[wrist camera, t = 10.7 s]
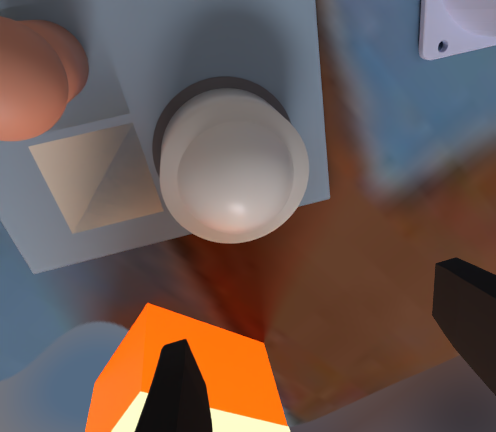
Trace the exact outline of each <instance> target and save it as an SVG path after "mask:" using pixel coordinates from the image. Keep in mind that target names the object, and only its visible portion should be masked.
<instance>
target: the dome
mask: <svg viewBox="0 0 496 432" xmlns="http://www.w3.org/2000/svg"><path fill="white" fill-rule="evenodd" d="M308 178H309V160H308V154H307V150H306V147H305V144H304V142H303V140H302V138H301V136H300V135H299V133H298V132H297V130H296V129H295V128H294V127H293V126H292V125H291V123H290V122H289V121H288V120H286V119H285V118H284V117H283V116H282V115H281V114H280V113H279V112H278V111H277V110H275V109H274V108H273V107H272V106H271V105H270V104H269V103H268V102H266V101H265V100H264V99H262V98H261V97H259V96H257V95H255V94H253V93H251V92H248V91H245V90H241V89H235V88H219V89H213V90H209V91H206V92H203V93H201V94H199V95H196V96H194V97H193V98H191V99H190V100H188V101H187V102H186V103H184V104H183V105H182V106H181V107H180V108H179V109H178V110H177V111H176V112H175V113H174V115H173V116H172V118H171V119H170V121H169V123H168V125H167V127H166V129H165V132H164V135H163V139H162V145H161V160H160V188H161V193H162V196H163V199H164V202H165V204H166V207H167V208H168V210H169V212H170V213H171V215H172V216H173V217H174V218H175V220H176V221H177V222H178V223H179V224H180V225H181V226H182V227H184V228H185V229H186V230H188V231H189V232H191V233H192V234H194V235H196V236H198V237H200V238H203V239H205V240H209V241H213V242H218V243H242V242H247V241H251V240H255V239H258V238H260V237H262V236H265V235H267V234H269V233H270V232H272V231H274V230H275V229H277V228H278V227H279V226H281V225H282V224H283V223H284V222H285V221H286V220H288V219H289V217H290V216H291V215H292V214H293V213H294V211H295V210H296V209H297V207H298V206H299V204H300V202H301V200H302V198H303V196H304V193H305V191H306V188H307V183H308Z"/></svg>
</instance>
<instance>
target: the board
mask: <svg viewBox="0 0 496 432" xmlns="http://www.w3.org/2000/svg"><path fill="white" fill-rule="evenodd" d="M0 16H2V17H6V18H10V19H12V20H15V21H23V20H45V21H50V22H53V23H56V24H58V25H60V26H62V27H64V28H65V29H66V30H68V31H69V32H70V33H71V34H73V35H74V36H75V38H76V39H77V40H78V41H79V42H80V44H81V45H82V47H83V49H84V51H85V53H86V56H87V59H88V64H89V75H88V80H87V82H86V85H85V86H84V88H83V89H82V91H81V92H80V93H79V94H78V95H76V96H75V97H74V98H73V99H72V100H71V101H70V102H69V103H67V105H66V108H65V111H64V112H63V114H62V116H61V118H60V119H59V120H58V122H57V123H56V124H55V125H54V126H53V127H52V128H51V129H49V130H48V131H46V132H45V133H43V134H41V135H39V136H37V137H34V138H31V139H27V140H22V141H0V220H1V222H2V224H3V225H4V227H5V228H6V230H7V232H8V233H9V235H10V237H11V238H12V240H13V241H14V243H15V245H16V246H17V248H18V250H19V251H20V253H21V254H22V256H23V258H24V259H25V261H26V262H27V264H28V266H29V267H30V269H31V271H32V272H33V274H36V273H40V272H44V271H48V270H52V269H56V268H60V267H64V266H68V265H72V264H75V263H79V262H83V261H87V260H91V259H95V258H99V257H103V256H107V255H111V254H115V253H119V252H123V251H126V250H130V249H134V248H138V247H142V246H146V245H150V244H154V243H158V242H162V241H166V240H170V239H174V238H177V237H181V236H185V235H189V234H192V233H191V232H189V231H188V230H186V229H185V228H184V227H182V226H181V225H180V224H179V223H178V222H177V221H176V220H175V218H174V217H173V216H172V215H171V213H170V212H169V210H168V208H167V207H166V204H165V202H164V199H163V196H162V193H161V188H160V160H161V145H162V139H163V135H164V132H165V129H166V127H167V125H168V123H169V121H170V119H171V118H172V116H173V115H174V113H175V112H176V111H177V110H178V109H179V108H180V107H181V106H182V105H183V104H184V103H186V102H187V101H188V100H190V99H191V98H193V97H194V96H196V95H199V94H201V93H203V92H206V91H209V90H213V89H219V88H235V89H241V90H245V91H248V92H251V93H253V94H255V95H257V96H259V97H261V98H262V99H264V100H265V101H266V102H268V103H269V104H270V105H271V106H272V107H273V108H274V109H275V110H277V111H278V112H279V113H280V114H281V115H282V116H283V117H284V118H285V119H286V120H288V121H289V122H290V123H291V125H292V126H293V127H294V128H295V129H296V130H297V132H298V133H299V135H300V136H301V138H302V140H303V142H304V144H305V147H306V150H307V154H308V160H309V178H308V183H307V188H306V191H305V193H304V196H303V198H302V200H301V202H300V204H299V206H303V205H307V204H311V203H315V202H319V201H323V200H326V199H330V191H329V178H328V165H327V151H326V138H325V125H324V112H323V98H322V85H321V72H320V59H319V46H318V32H317V19H316V6H315V0H0ZM299 206H298V207H299Z"/></svg>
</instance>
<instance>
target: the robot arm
mask: <svg viewBox="0 0 496 432" xmlns="http://www.w3.org/2000/svg"><path fill="white" fill-rule="evenodd" d="M441 41H443V46H442V48H441V50H440V51H438V45H439V43H440V42H441ZM494 45H496V0H421V18H420V37H419V55H420V56H421V58H423V59H426V60H434V59H438V58H442V57H446V56H451V55H455V54H459V53H464V52H468V51H472V50H477V49H481V48H485V47H490V46H494ZM432 316H433V317H434V319H435V320H436V322H437V323H438V325H439V326H440V328H441V329H442V331H443V332H444V334H445V335H446V337H447V338H448V340H449V341H450V342H451V344H452V345H453V347H454V348H455V349H456V350H457V352H458V353H459V354H460V355H461V356H462V357H463V359H464V360H465V361H466V362H467V363H468V364H469V365H470V367H471V368H472V369H473V370H474V371H475V373H476V374H477V375H478V376H479V377H480V378H481V379H482V380H483V382H484V383H485V384H486V385H487V386H488V387H489V389H490V390H491V391H492V392H493V393H494V394H495V395H496V275H494V274H492V273H490V272H488V271H486V270H483V269H481V268H479V267H477V266H475V265H472V264H470V263H468V262H465V261H463V260H461V259H458V258H452V259H449V260H446V261H442V262H439V263H436V266H435V281H434V296H433V311H432ZM134 432H213V428H212V419H211V412H210V405H209V399H208V393H207V387H206V383H205V381H204V379H203V376H202V374H201V372H200V369H199V367H198V365H197V362H196V360H195V358H194V355H193V353H192V351H191V349H190V346H189V344H188V342H187V339H182V340H179V341H176V342H172V343H169V344H166V345H164V346H163V347H162V349H161V352H160V356H159V360H158V363H157V367H156V370H155V373H154V377H153V380H152V383H151V386H150V389H149V392H148V395H147V398H146V401H145V404H144V407H143V409H142V412H141V415H140V418H139V420H138V423H137V426H136V429H135V431H134Z"/></svg>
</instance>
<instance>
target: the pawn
mask: <svg viewBox="0 0 496 432" xmlns="http://www.w3.org/2000/svg"><path fill="white" fill-rule="evenodd" d="M88 75H89V64H88V59H87V56H86V53H85V51H84V49H83V47H82V45H81V44H80V42H79V41H78V40H77V39H76V38H75V36H74V35H73V34H71V33H70V32H69V31H68V30H66V29H65V28H64V27H62V26H60V25H58V24H56V23H53V22H50V21H45V20H23V21H15V20H12V19H10V18H6V17H2V16H0V141H22V140H27V139H31V138H34V137H37V136H39V135H41V134H43V133H45V132H46V131H48V130H49V129H51V128H52V127H53V126H54V125H55V124H56V123H57V122H58V120H59V119H60V118H61V116H62V114H63V112H64V111H65V108H66V105H67V103H69V102H70V101H71V100H72V99H73V98H74V97H75V96H76V95H78V94H79V93H80V92H81V91H82V89H83V88H84V86H85V85H86V82H87V80H88Z"/></svg>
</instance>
